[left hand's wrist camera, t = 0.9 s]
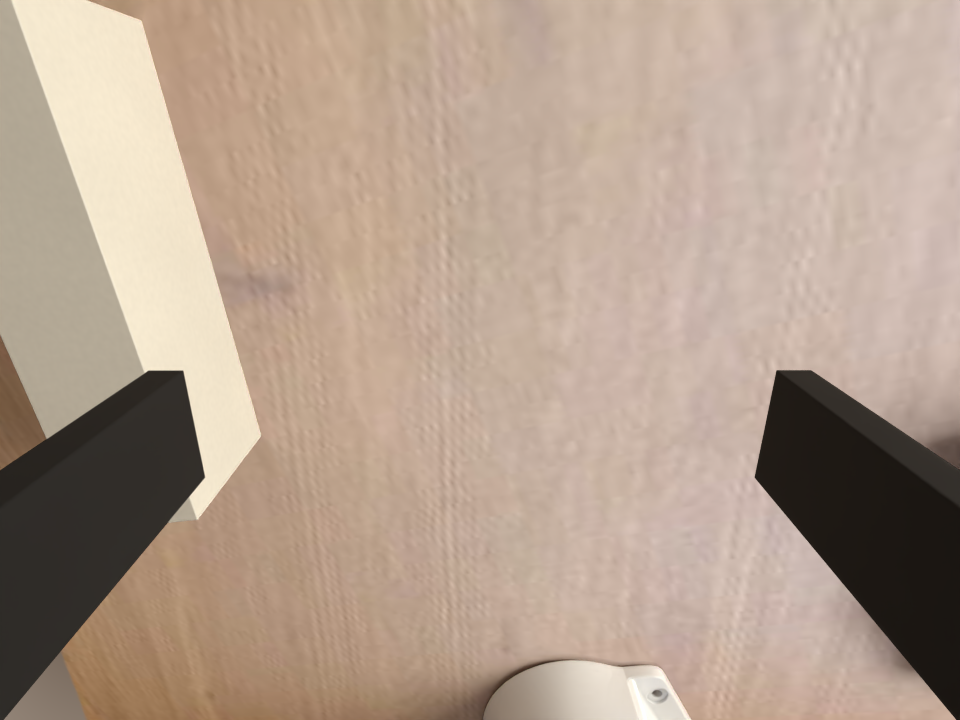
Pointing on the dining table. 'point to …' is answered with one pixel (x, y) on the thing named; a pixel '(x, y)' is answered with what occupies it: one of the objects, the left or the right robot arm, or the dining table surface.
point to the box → (106, 234)
